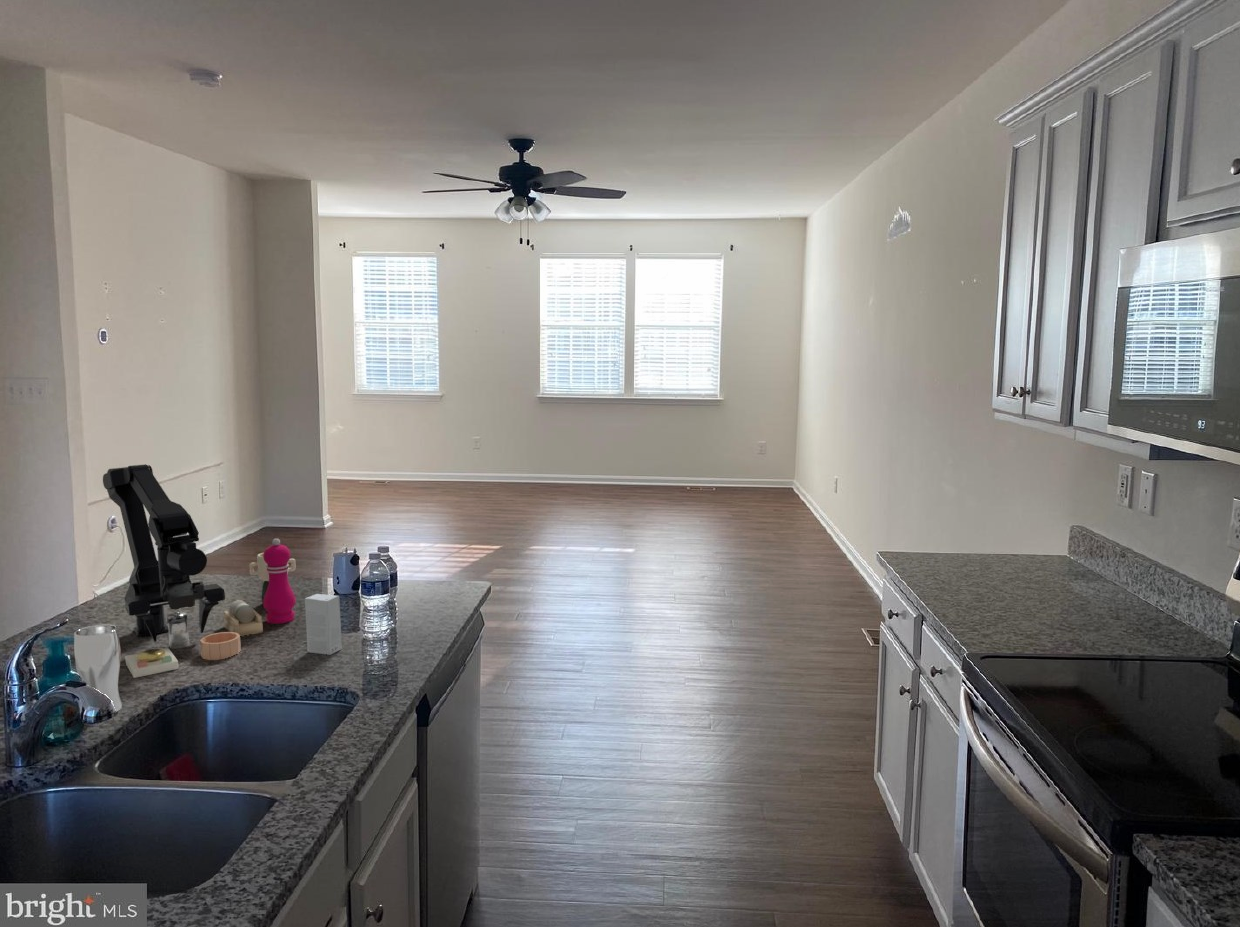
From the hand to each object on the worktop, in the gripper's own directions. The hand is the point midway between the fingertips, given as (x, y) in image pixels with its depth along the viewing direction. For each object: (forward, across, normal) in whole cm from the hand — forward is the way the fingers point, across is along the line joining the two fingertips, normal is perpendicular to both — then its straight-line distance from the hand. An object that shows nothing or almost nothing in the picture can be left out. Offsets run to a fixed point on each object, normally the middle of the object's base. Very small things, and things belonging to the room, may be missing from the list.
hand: (178, 636), depth 186 cm
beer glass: (+2, -18, -29) cm, 34 cm away
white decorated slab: (+2, -7, -10) cm, 12 cm away
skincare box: (+2, +24, -23) cm, 33 cm away
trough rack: (+2, +14, +3) cm, 14 cm away
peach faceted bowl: (+2, +6, -11) cm, 13 cm away
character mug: (+2, +26, +20) cm, 33 cm away
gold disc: (0, -7, -10) cm, 12 cm away
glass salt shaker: (+2, 0, 0) cm, 2 cm away
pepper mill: (+2, +23, +5) cm, 24 cm away
